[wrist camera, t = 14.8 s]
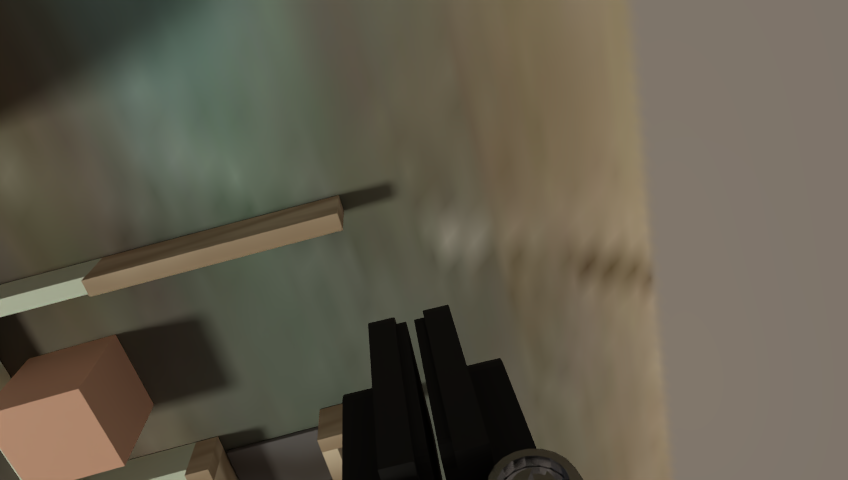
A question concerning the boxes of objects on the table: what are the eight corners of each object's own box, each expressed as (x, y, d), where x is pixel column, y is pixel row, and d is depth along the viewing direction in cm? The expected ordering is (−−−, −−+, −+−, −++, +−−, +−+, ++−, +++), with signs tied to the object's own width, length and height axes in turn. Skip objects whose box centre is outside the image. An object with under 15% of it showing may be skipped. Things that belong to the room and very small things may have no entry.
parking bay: (102, 257, 35) (81, 280, 32) (338, 195, 35) (337, 213, 32) (233, 516, 44) (225, 552, 41) (424, 466, 44) (429, 499, 41)
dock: (-58, 299, 35) (-87, 322, 33) (102, 257, 35) (84, 276, 33) (64, 489, 41) (47, 519, 39) (201, 453, 41) (192, 481, 39)
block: (28, 357, 37) (-23, 416, 32) (115, 333, 37) (78, 388, 32) (72, 427, 40) (30, 492, 34) (154, 404, 39) (124, 465, 34)
